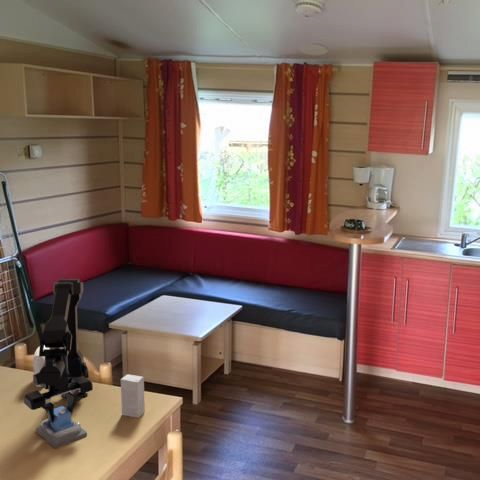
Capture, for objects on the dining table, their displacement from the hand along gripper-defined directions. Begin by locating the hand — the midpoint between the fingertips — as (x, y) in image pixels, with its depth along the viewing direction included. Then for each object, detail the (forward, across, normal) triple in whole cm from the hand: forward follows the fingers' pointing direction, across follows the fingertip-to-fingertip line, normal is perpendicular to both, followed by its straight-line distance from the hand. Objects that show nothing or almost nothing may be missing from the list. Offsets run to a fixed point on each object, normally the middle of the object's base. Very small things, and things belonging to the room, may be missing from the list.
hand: (60, 419), depth 172 cm
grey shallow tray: (+4, 0, 0) cm, 4 cm away
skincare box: (+5, -22, +4) cm, 23 cm away
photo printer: (+5, -11, -36) cm, 38 cm away
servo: (+4, 0, 0) cm, 4 cm away
